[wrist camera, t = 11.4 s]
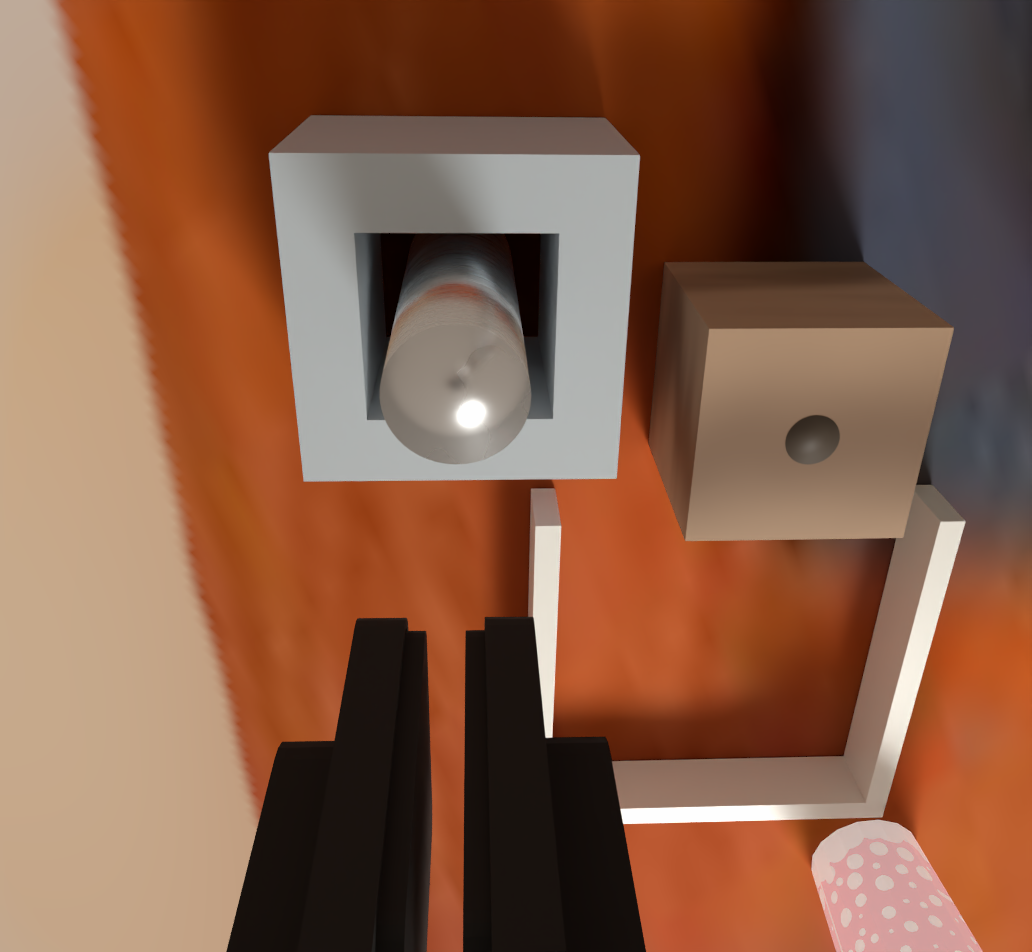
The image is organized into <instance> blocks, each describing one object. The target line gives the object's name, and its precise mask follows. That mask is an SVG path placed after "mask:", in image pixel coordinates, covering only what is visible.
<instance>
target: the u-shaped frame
mask: <svg viewBox="0 0 1032 952" xmlns="http://www.w3.org/2000/svg"><path fill="white" fill-rule="evenodd" d="M964 525H965V520H964V519H963V518H962V517H961V516H960V515H959V514H958V513H957V512H956V510H955V509H954V508H953V507H952V506H951V505H950V504H949V503H948V502H947V500H946V499H945V498H944V497H943V496H942V495H941V494H940V493H939V492H938V490H937V489H936V488H935V487H934V486H933V485H916V487H915V491H914V495H913V499H912V503H911V508H910V512H909V516H908V520H907V524H906V528H905V532H904V536H903V538H896V541H895V546H894V550H893V554H892V558H891V562H890V566H889V570H888V574H887V579H886V583H885V587H884V591H883V595H882V599H881V603H880V607H879V612H878V616H877V620H876V624H875V628H874V632H873V636H872V640H871V645H870V649H869V653H868V657H867V661H866V665H865V669H864V674H863V678H862V682H861V686H860V690H859V694H858V698H857V702H856V707H855V711H854V715H853V719H852V723H851V727H850V731H849V735H848V740H847V744H846V748H845V752H844V756H825V757H779V758H734V759H689V760H644V761H612V764H613V770H614V776H615V781H616V787H617V792H618V798H619V804H620V809H621V815H622V820H623V824H636V823H676V822H716V821H756V820H796V819H836V818H876V817H883V813H884V810H885V806H886V802H887V799H888V795H889V792H890V788H891V785H892V781H893V778H894V774H895V770H896V767H897V763H898V760H899V756H900V753H901V749H902V745H903V742H904V738H905V735H906V731H907V728H908V724H909V721H910V717H911V713H912V710H913V706H914V703H915V699H916V696H917V692H918V689H919V685H920V681H921V678H922V674H923V671H924V667H925V664H926V660H927V656H928V653H929V649H930V646H931V642H932V639H933V635H934V631H935V628H936V624H937V621H938V617H939V614H940V610H941V607H942V603H943V599H944V596H945V592H946V589H947V585H948V582H949V578H950V574H951V571H952V567H953V564H954V560H955V557H956V553H957V550H958V546H959V542H960V539H961V535H962V532H963V528H964ZM560 542H561V522H560V516H559V510H558V503H557V497H556V491H555V488H533V489H531V510H530V552H529V595H528V617H533V618H534V624H535V634H536V644H537V655H538V665H539V675H540V685H541V696H542V706H543V716H544V727H545V737H546V738H552V733H553V709H554V685H555V661H556V637H557V613H558V590H559V566H560Z"/></svg>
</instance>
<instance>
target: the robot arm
mask: <svg viewBox="0 0 1032 952" xmlns="http://www.w3.org/2000/svg"><path fill="white" fill-rule="evenodd" d="M431 842H432V787H431V756H430V725H429V693H428V662H427V635H426V631H408V621H407V618H358V619H357V620H356V624H355V629H354V634H353V640H352V646H351V651H350V657H349V663H348V668H347V674H346V679H345V685H344V691H343V696H342V702H341V708H340V713H339V719H338V724H337V730H336V736H335V741H305V742H282V743H281V744H280V746H279V747H278V750H277V753H276V756H275V760H274V764H273V768H272V772H271V776H270V780H269V784H268V788H267V792H266V796H265V800H264V804H263V808H262V812H261V816H260V820H259V824H258V828H257V832H256V836H255V840H254V844H253V848H252V852H251V856H250V860H249V864H248V868H247V872H246V876H245V880H244V884H243V888H242V892H241V896H240V900H239V904H238V908H237V912H236V916H235V920H234V924H233V928H232V932H231V936H230V940H229V944H228V948H227V952H426V951H427V929H428V907H429V885H430V864H431ZM463 952H646V949H645V944H644V938H643V932H642V927H641V921H640V916H639V910H638V904H637V899H636V893H635V888H634V882H633V876H632V871H631V865H630V860H629V854H628V848H627V843H626V837H625V832H624V826H623V820H622V815H621V809H620V804H619V798H618V792H617V787H616V781H615V776H614V770H613V764H612V759H611V753H610V749H609V745H608V741H607V739H606V737H559V738H546V737H545V727H544V716H543V706H542V696H541V685H540V675H539V665H538V655H537V644H536V634H535V624H534V618H533V617H485V630H472V631H466V657H465V779H464V901H463Z"/></svg>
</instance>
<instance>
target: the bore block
mask: <svg viewBox="0 0 1032 952" xmlns="http://www.w3.org/2000/svg"><path fill="white" fill-rule="evenodd" d="M269 162H270V172H271V181H272V190H273V199H274V209H275V218H276V227H277V237H278V246H279V255H280V264H281V274H282V283H283V292H284V302H285V311H286V320H287V329H288V339H289V348H290V357H291V367H292V376H293V385H294V394H295V404H296V413H297V422H298V432H299V441H300V450H301V459H302V469H303V478H304V481H402V480H515V479H617V466H618V453H619V439H620V425H621V411H622V398H623V384H624V370H625V356H626V343H627V329H628V315H629V301H630V287H631V274H632V260H633V246H634V232H635V219H636V205H637V191H638V177H639V164H640V155H639V153H638V152H637V151H636V150H635V149H634V148H633V147H632V146H631V145H630V144H629V143H628V142H627V141H626V139H625V138H624V137H623V136H622V135H621V134H620V133H619V132H618V131H617V130H616V129H615V128H614V127H613V125H612V124H611V123H610V122H609V121H608V120H607V119H606V118H584V117H459V116H335V115H311V116H309V117H308V118H307V119H306V120H305V121H304V122H303V123H302V124H300V125H299V126H298V127H297V128H296V129H295V130H294V131H293V132H291V133H290V134H289V135H288V136H287V137H286V138H285V139H284V140H282V141H281V142H280V143H279V144H278V145H277V146H276V147H275V148H273V149H272V150H271V151H270V152H269ZM381 233H540V270H539V310H538V337H523V338H524V345H525V352H526V358H527V365H528V372H529V379H530V385H531V405H530V410H529V414H528V417H527V419H526V422H525V424H524V426H523V428H522V430H521V431H520V433H519V434H518V435H517V437H516V438H515V439H514V440H513V441H512V442H511V443H510V444H509V445H508V446H507V447H505V448H504V449H503V450H502V451H500V452H498V453H497V454H495V455H493V456H491V457H489V458H487V459H484V460H481V461H478V462H474V463H468V464H444V463H438V462H435V461H431V460H428V459H426V458H423V457H421V456H419V455H417V454H416V453H414V452H412V451H411V450H409V449H408V448H407V447H405V446H404V445H403V444H402V443H401V442H400V441H399V440H398V439H397V438H396V437H395V435H394V434H393V433H392V432H391V430H390V428H389V427H388V425H387V423H386V421H385V418H384V416H383V413H382V409H381V404H380V383H381V378H382V373H383V369H384V364H385V360H386V355H387V351H388V346H389V341H390V337H386V322H385V304H384V286H383V268H382V250H381Z"/></svg>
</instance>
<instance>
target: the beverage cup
mask: <svg viewBox="0 0 1032 952" xmlns="http://www.w3.org/2000/svg"><path fill="white" fill-rule="evenodd" d="M811 870H812V873H813V876H814V880H815V883H816V886H817V890H818V893H819V896H820V899H821V903H822V906H823V909H824V913H825V916H826V919H827V923H828V926H829V929H830V932H831V936H832V939H833V942H834V946H835V949H836V952H983V951H982V950H981V948H980V946H979V945H978V943H977V941H976V940H975V938H974V936H973V935H972V933H971V931H970V930H969V928H968V926H967V925H966V923H965V921H964V920H963V918H962V916H961V915H960V913H959V911H958V910H957V908H956V906H955V905H954V903H953V901H952V900H951V898H950V896H949V895H948V893H947V891H946V890H945V888H944V886H943V885H942V883H941V881H940V880H939V878H938V876H937V875H936V873H935V871H934V870H933V868H932V866H931V865H930V863H929V861H928V860H927V858H926V856H925V855H924V853H923V851H922V850H921V848H920V846H919V845H918V843H917V841H916V840H915V838H914V836H913V835H912V833H911V832H910V831H909V830H907V829H906V828H904V827H902V826H901V825H899V824H898V823H894V822H888V821H883V820H871V821H861V822H856V823H853V824H851V825H848V826H845V827H843V828H840V829H838V830H836V831H835V832H833V833H832V834H831V835H829V836H828V837H827V838H826V839H824V840H823V841H822V842H821V843H820V845H819V846H818V848H817V849H816V851H815V852H814V854H813V856H812V869H811Z"/></svg>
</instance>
